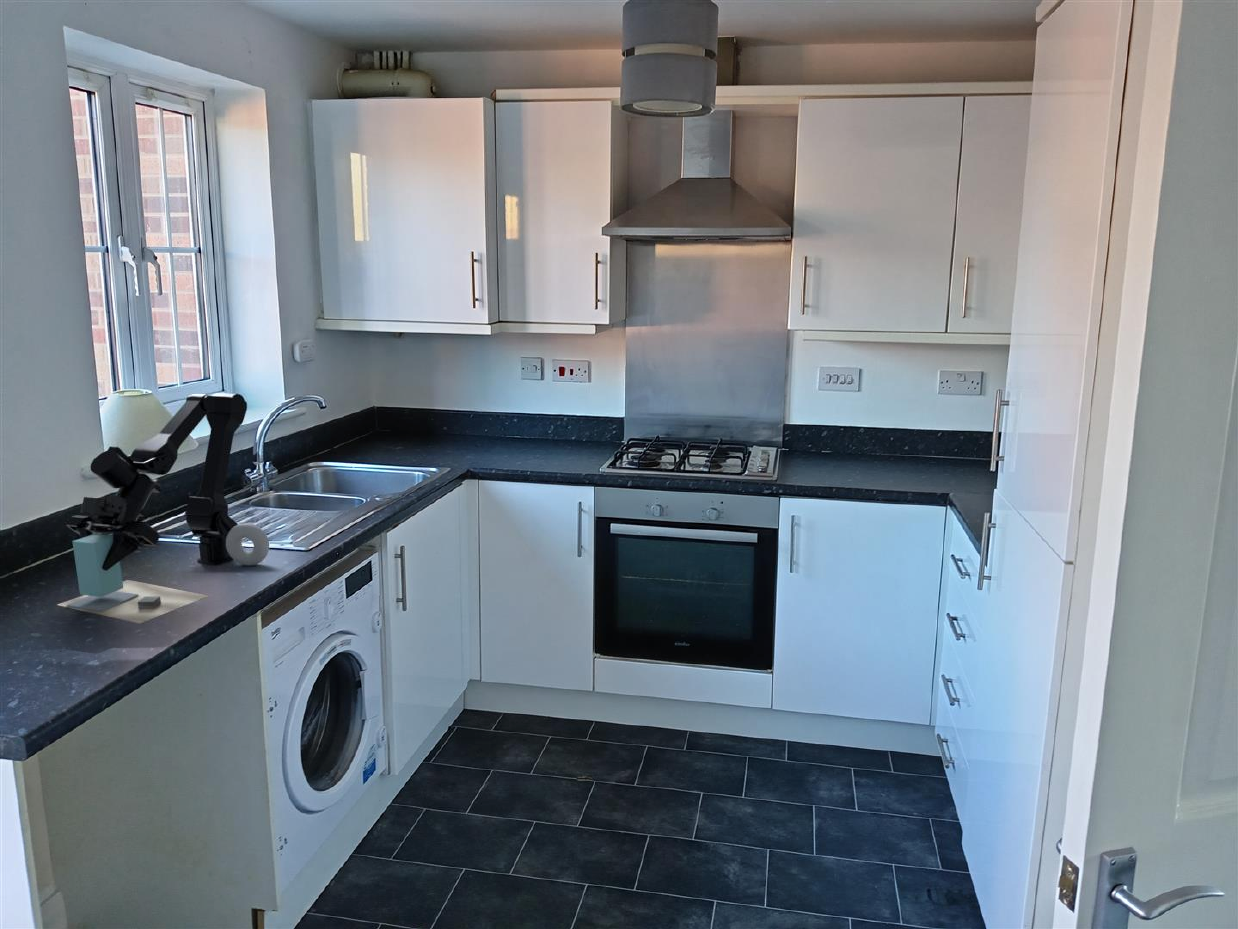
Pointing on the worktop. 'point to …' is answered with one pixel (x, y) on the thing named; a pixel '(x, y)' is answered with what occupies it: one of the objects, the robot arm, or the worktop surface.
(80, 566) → the tall teal block
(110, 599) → the coaster
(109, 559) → the robot arm
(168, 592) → the board
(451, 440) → the worktop surface
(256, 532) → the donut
